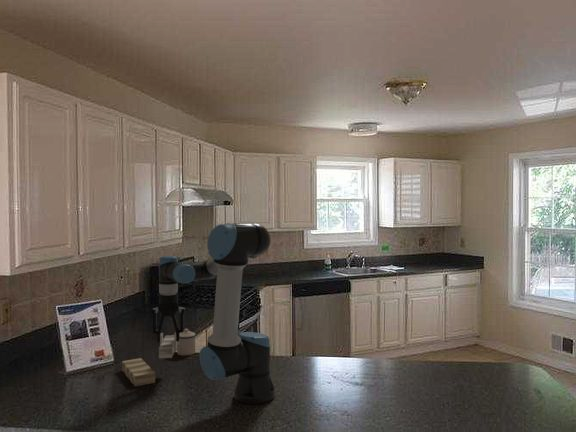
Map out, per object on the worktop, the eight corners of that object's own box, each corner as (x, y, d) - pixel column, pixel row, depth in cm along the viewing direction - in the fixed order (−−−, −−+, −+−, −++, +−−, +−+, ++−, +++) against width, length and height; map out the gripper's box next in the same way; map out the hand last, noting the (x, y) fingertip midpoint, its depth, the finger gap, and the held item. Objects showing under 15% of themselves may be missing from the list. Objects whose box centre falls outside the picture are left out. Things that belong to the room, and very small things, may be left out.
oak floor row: (157, 382, 186) (157, 372, 186) (134, 386, 181) (134, 376, 181) (142, 366, 205) (142, 357, 205) (122, 370, 200) (122, 361, 200)
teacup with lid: (199, 351, 227) (199, 327, 227) (188, 356, 218) (188, 332, 218) (179, 348, 231) (179, 325, 231) (167, 354, 223) (167, 329, 223)
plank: (165, 344, 201) (165, 335, 201) (177, 344, 201) (177, 335, 201) (158, 358, 183) (158, 348, 183) (171, 357, 183) (171, 347, 183)
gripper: (191, 291, 196) (191, 345, 197) (147, 292, 194) (147, 347, 195) (189, 294, 189) (189, 351, 189) (144, 295, 187) (144, 352, 187)
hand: (168, 349), depth 192 cm, fingers closed on plank, 5 cm apart
